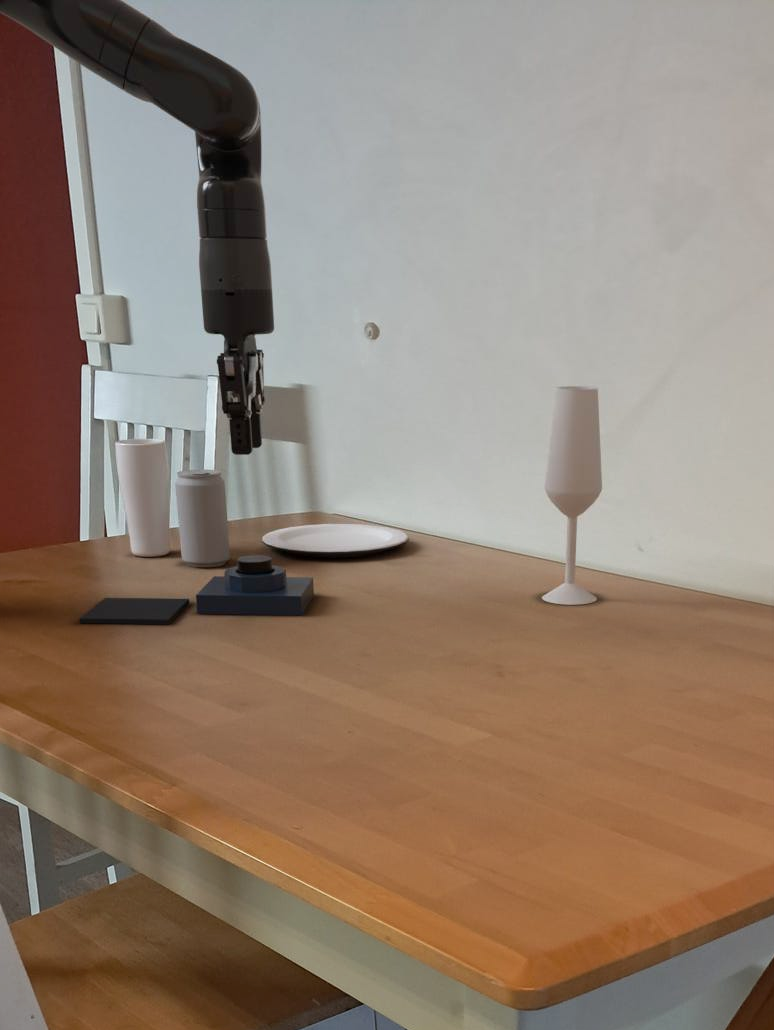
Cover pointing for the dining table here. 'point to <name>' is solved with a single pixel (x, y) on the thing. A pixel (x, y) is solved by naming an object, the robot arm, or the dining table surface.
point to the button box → (255, 594)
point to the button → (254, 565)
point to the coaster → (135, 611)
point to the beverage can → (202, 518)
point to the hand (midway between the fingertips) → (247, 450)
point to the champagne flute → (573, 474)
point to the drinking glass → (145, 494)
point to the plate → (335, 540)
